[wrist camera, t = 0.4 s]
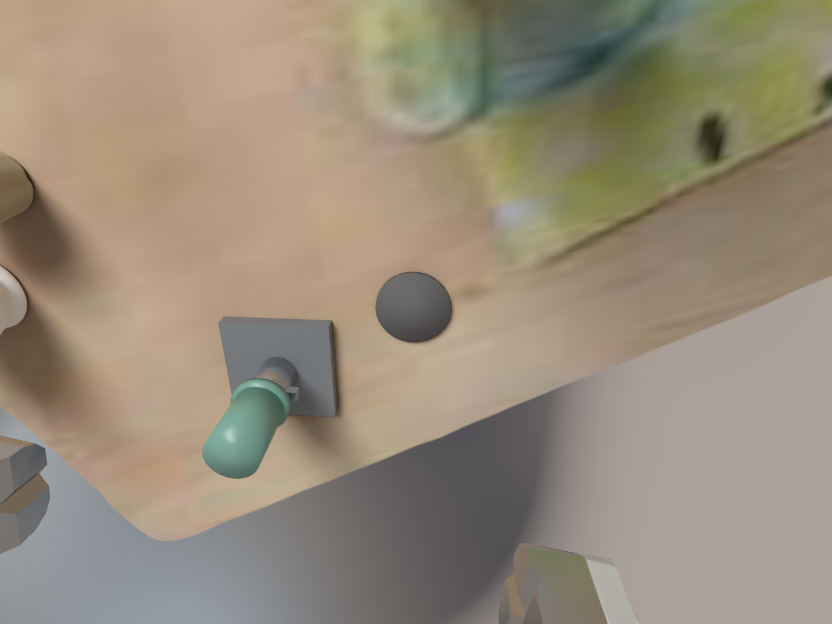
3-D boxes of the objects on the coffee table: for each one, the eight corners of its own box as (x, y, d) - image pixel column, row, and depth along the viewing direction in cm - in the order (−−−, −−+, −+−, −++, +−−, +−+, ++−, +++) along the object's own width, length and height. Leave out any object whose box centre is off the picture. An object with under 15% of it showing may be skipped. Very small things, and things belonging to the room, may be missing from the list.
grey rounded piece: (249, 355, 52) (228, 383, 47) (305, 357, 52) (291, 386, 47) (253, 385, 54) (234, 415, 49) (308, 387, 53) (295, 418, 48)
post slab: (224, 316, 52) (218, 322, 50) (331, 320, 51) (328, 326, 50) (240, 405, 57) (235, 412, 55) (337, 409, 56) (335, 416, 55)
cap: (230, 376, 46) (191, 429, 39) (287, 378, 46) (259, 432, 39) (239, 422, 49) (204, 480, 42) (293, 425, 49) (268, 483, 42)
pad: (375, 270, 48) (374, 272, 48) (452, 273, 48) (452, 275, 48) (377, 338, 52) (376, 340, 51) (449, 340, 52) (449, 343, 51)
